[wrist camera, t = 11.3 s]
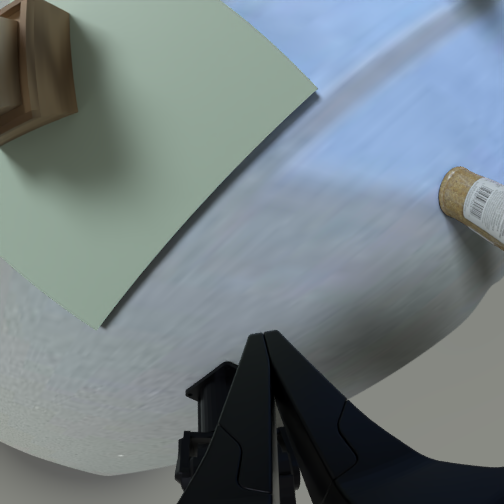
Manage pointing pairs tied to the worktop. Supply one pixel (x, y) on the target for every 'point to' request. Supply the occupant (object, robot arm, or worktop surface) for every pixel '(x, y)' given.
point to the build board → (137, 142)
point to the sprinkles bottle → (474, 203)
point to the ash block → (9, 66)
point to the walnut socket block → (40, 67)
